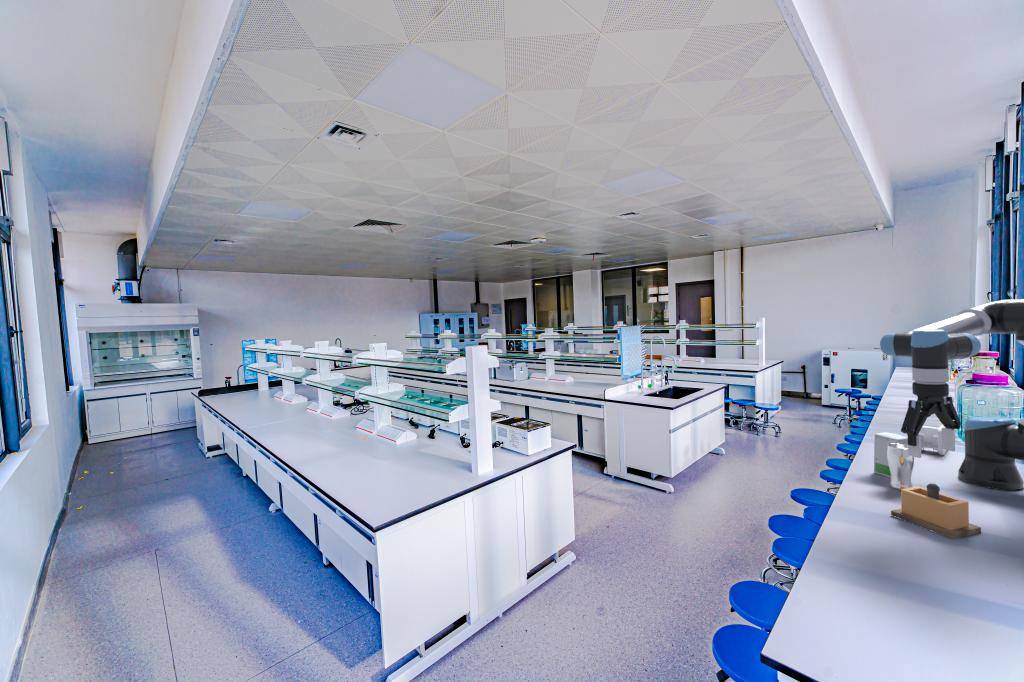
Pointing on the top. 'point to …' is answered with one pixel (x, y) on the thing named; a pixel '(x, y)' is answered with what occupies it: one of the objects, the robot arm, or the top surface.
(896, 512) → the keeper board
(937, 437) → the cable organizer
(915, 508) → the orange link
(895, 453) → the beer glass
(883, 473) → the skincare box
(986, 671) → the top surface
